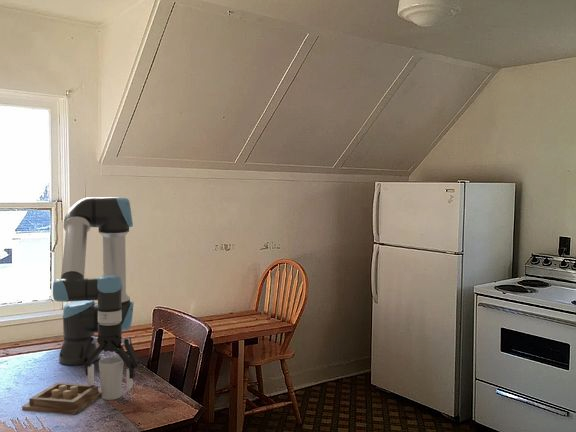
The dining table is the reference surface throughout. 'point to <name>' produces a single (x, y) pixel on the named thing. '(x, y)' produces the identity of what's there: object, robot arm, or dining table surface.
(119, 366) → the cup
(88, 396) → the peg stand
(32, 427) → the dining table surface
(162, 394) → the dining table surface
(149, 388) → the dining table surface
